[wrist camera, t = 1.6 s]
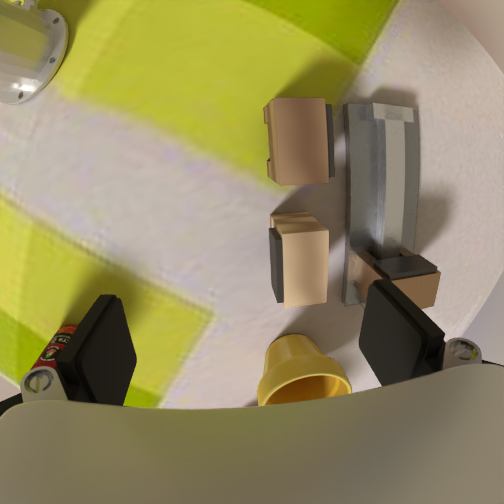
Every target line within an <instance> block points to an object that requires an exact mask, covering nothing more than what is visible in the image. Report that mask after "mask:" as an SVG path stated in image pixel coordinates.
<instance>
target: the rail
mask: <svg viewBox="0 0 504 504" xmlns="http://www.w3.org/2000/svg"><path fill="white" fill-rule="evenodd" d="M343 105H344V121H345V141H346V185H347V197H346V243H345V264H344V280H343V293H342V302H343V304H344V305H345V306H349V305H355V304H361V305H362V307H363V308H364V309H365V305H366V299H367V293H368V287H369V285H370V284H372V283H373V281H374V280H379V279H389V280H390V281H391V282H393V283H394V284H395V285H396V286H397V287H398V288H399V289H400V290H401V291H402V292H403V293H404V294H405V295H406V296H408V297H409V298H410V299H411V300H412V301H413V302H414V303H415V304H416V305H417V306H418V307H419V308H420V309H424V308H428V307H432V306H434V303H435V298H436V294H437V289H438V285H439V280H440V274H441V272H439V271H438V270H437V266H435V265H434V264H432V263H431V262H429V261H428V260H426V259H425V258H424V257H422V256H421V255H419V254H418V255H415V254H414V253H413V249H414V240H415V230H416V219H417V205H418V186H419V129H418V111H414V110H413V108H410V107H403V106H396V105H388V104H379V103H370V104H352V103H347V104H343Z"/></svg>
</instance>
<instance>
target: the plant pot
mask: <svg viewBox="0 0 504 504" xmlns="http://www.w3.org/2000/svg"><path fill="white" fill-rule="evenodd" d="M350 393H352V387H351V384H350V382H349V380H348V378H347V376H346V374H345V373H344V371H343V369H342V368H341V366H340V365H339V364H338V363H337V362H336V361H335V360H333V359H332V358H330V357H327V356H325V355H324V354H323V353H322V352H321V350H320V349H319V348H318V347H317V346H316V345H315V344H314V343H313V342H312V340H311V339H310V338H308V337H307V336H304V335H300V334H290V335H286V336H283V337H281V338H279V339H277V340H276V341H274V342H273V343H272V344H271V345H270V346H269V348H268V350H267V352H266V356H265V365H264V373H263V377H262V379H261V380H260V382H259V385H258V389H257V399H258V406H265V405H275V404H285V403H293V402H301V401H308V400H315V399H321V398H328V397H333V396H339V395H344V394H350Z"/></svg>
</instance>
